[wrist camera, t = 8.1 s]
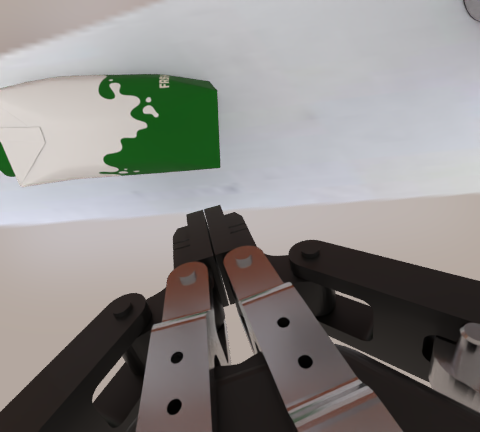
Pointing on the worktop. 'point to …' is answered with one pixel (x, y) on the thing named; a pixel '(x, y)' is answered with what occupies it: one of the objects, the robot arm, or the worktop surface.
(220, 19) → the worktop surface
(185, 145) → the soya milk
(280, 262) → the robot arm
